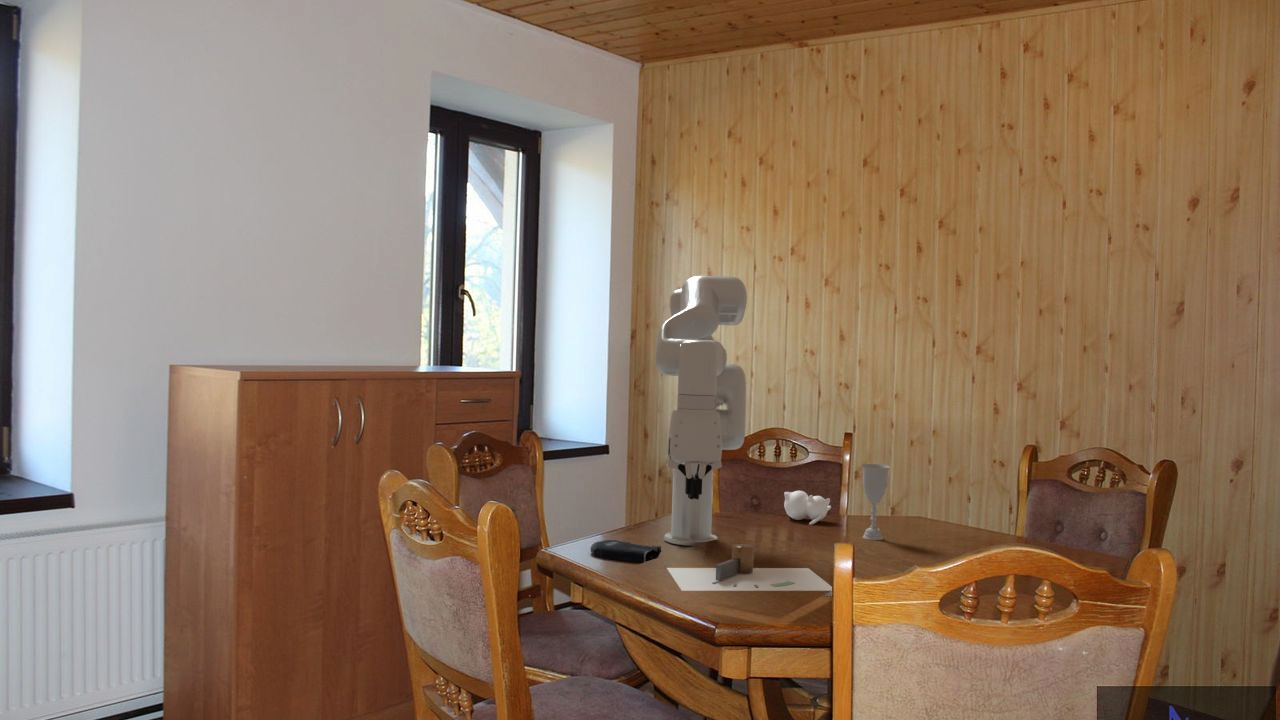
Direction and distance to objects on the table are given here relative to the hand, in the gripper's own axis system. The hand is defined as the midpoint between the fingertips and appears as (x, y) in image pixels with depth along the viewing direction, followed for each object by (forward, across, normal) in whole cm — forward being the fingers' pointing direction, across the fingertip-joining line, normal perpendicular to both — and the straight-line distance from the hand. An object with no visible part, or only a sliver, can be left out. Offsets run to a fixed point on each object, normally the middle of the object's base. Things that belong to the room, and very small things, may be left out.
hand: (693, 498), depth 195 cm
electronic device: (+18, +10, -27) cm, 34 cm away
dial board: (+17, -12, -2) cm, 21 cm away
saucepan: (+16, -9, -4) cm, 19 cm away
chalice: (+17, -55, -48) cm, 75 cm away
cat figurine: (+17, -44, -70) cm, 85 cm away
